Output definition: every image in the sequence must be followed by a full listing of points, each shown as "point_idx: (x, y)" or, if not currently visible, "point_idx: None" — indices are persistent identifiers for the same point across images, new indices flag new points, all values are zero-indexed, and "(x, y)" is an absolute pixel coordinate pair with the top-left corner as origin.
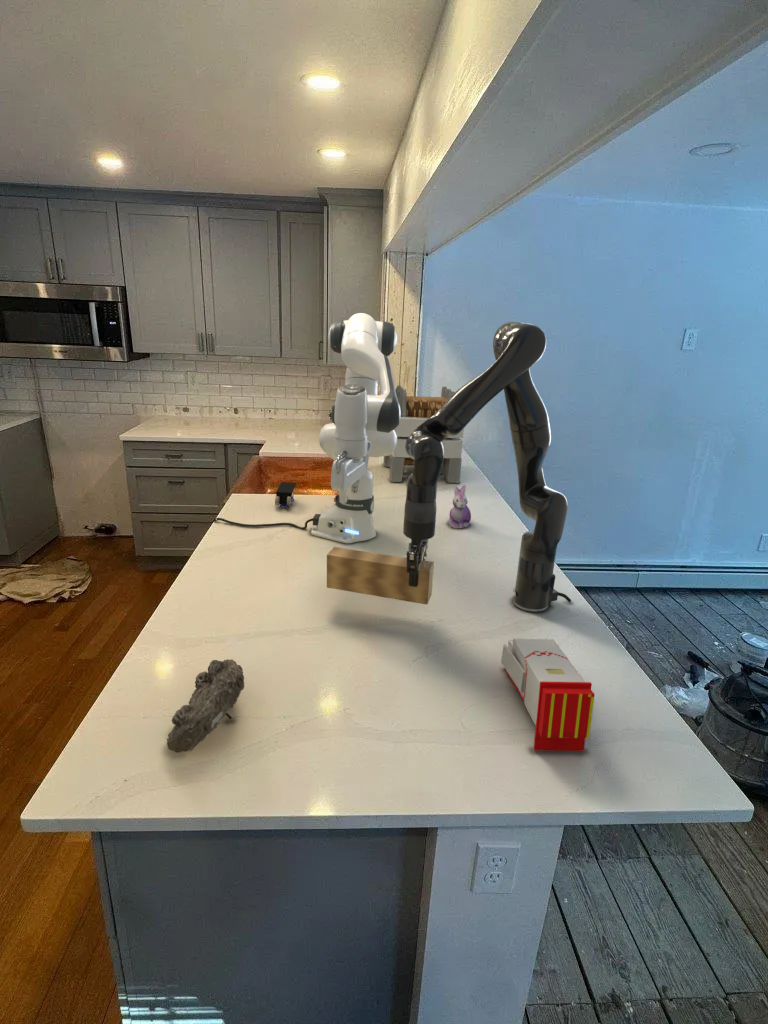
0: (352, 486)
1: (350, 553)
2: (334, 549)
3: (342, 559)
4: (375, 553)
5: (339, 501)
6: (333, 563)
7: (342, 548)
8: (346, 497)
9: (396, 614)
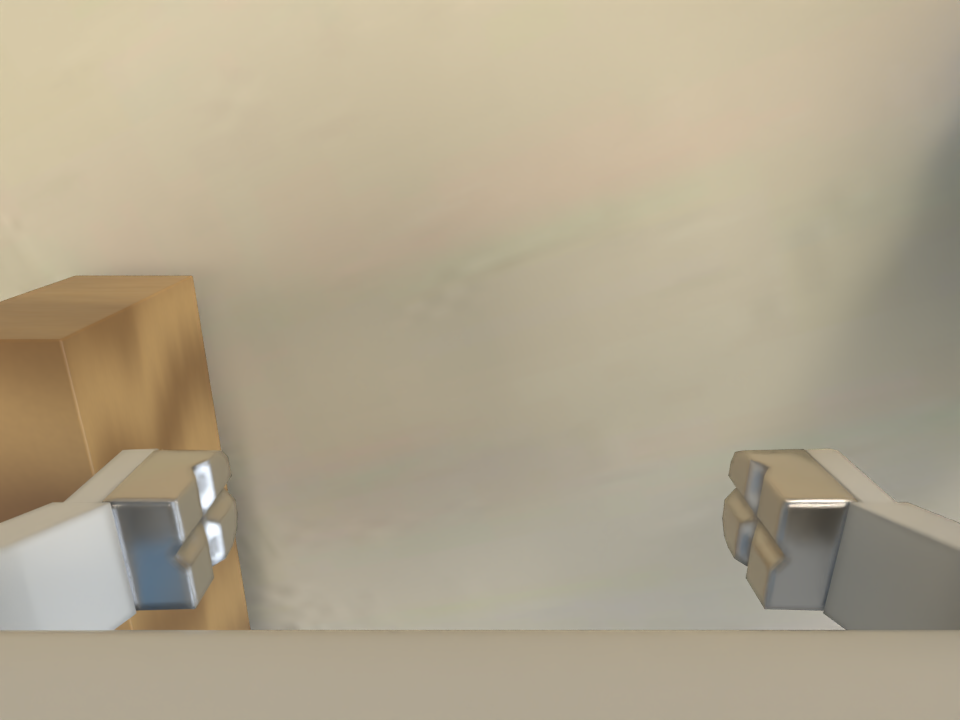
0: (822, 514)
1: (20, 490)
2: (12, 361)
3: None
4: (122, 628)
5: (122, 450)
6: None
7: (67, 410)
8: (128, 604)
9: (282, 514)
